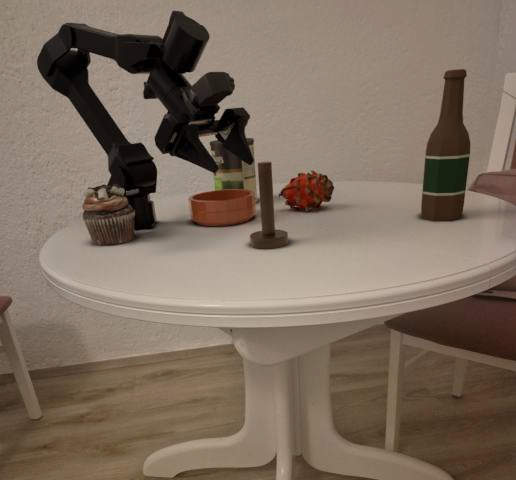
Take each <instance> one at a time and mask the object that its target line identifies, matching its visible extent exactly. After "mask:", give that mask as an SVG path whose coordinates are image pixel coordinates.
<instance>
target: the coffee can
mask: <svg viewBox="0 0 516 480" xmlns="http://www.w3.org/2000/svg"><path fill="white" fill-rule="evenodd" d="M246 139H247V142H248V145H249V148H250V151H251V153H252V156H253V159H254V162H253V163H252V165H248V164H247V163H245V162H244V161H242V160H241V159H239V158H238V157H237V156H235V155H234V154H232V153H231V152H230V151H228V150H227V149H225V148H224V147H222V145H223V143H221V142H219V141H218V140H217V139H215V140H211V141H209V146H210V153H211V154H210V155H211V156H212V158H213V159H214V161H215V162H216V164H217V166H218V168H219V169H218V171H217V173H213V172H212V174H213V182H214V190H225V189H245V190H251V191H254V193H255V204H256V203H257V202H258V192H257V177H256V176H257V175H256V161H255V146H254V145H255V143H254V142H255V139H254V138H252V137H246Z"/></svg>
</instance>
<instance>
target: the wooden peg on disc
mask: <svg viewBox="0 0 516 480" xmlns="http://www.w3.org/2000/svg"><path fill="white" fill-rule="evenodd" d="M272 165H273V164H272V161H259V162H257V174H258V175H257V176H258V192H259V204H260V205H259V207H260V221H261V230H257V231H254V232H252V233H250V234H249V242H250V246H251V247H252V248H255V249H259V250H260V249H262V250H269V249H270V250H271V249H279V248H282V247H284V246H286V245H288V244H289V232H288V231H286V230H283V229H276V221H275V203H274V184H273V182H274V181H273V166H272Z"/></svg>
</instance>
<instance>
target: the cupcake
mask: <svg viewBox="0 0 516 480" xmlns="http://www.w3.org/2000/svg"><path fill="white" fill-rule="evenodd" d="M124 193H125V190H124V189H123V188H120V186H119V185H117V184H113V185H111V186H109V187H107V184H101V185H97V186H94V187H87V189H85V190H84V191H83V195H84V198H85V199H84V200H83V203H82V205H81V207H82V210H83V212H82V221H83V223H84V225H85V227H86V229H87V232H88V234H89V236H90V239H91V241H92V243H93V245H97V246H113V245H119V244H124V243H128V242H130V241H132V240H134V239H135V238H136V232H135V230H136V229H134V220H135V210H133V208H132V206H131V205H130V204H128V199H127V198H126V197H125V196H123V195H124Z"/></svg>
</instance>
